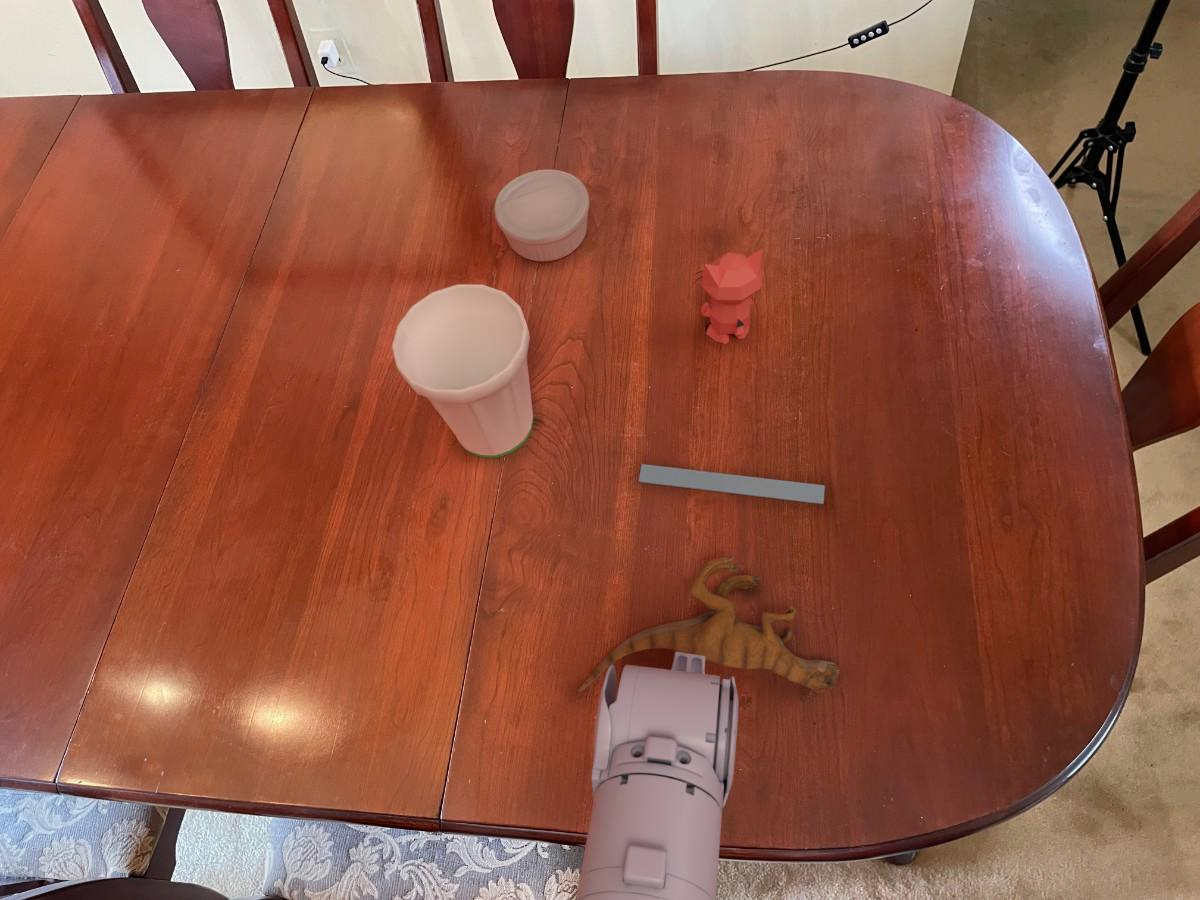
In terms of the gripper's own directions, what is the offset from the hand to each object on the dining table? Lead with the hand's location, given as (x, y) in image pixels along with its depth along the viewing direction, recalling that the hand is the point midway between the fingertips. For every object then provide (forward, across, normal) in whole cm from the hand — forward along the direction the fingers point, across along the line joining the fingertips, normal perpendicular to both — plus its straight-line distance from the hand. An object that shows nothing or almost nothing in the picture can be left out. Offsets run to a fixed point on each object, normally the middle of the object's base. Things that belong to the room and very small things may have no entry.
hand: (678, 786), depth 60 cm
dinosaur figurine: (+11, -13, +1) cm, 17 cm away
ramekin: (+12, -60, -24) cm, 66 cm away
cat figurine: (+12, -48, -1) cm, 50 cm away
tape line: (+11, -30, +1) cm, 32 cm away
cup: (+12, -34, -24) cm, 43 cm away
